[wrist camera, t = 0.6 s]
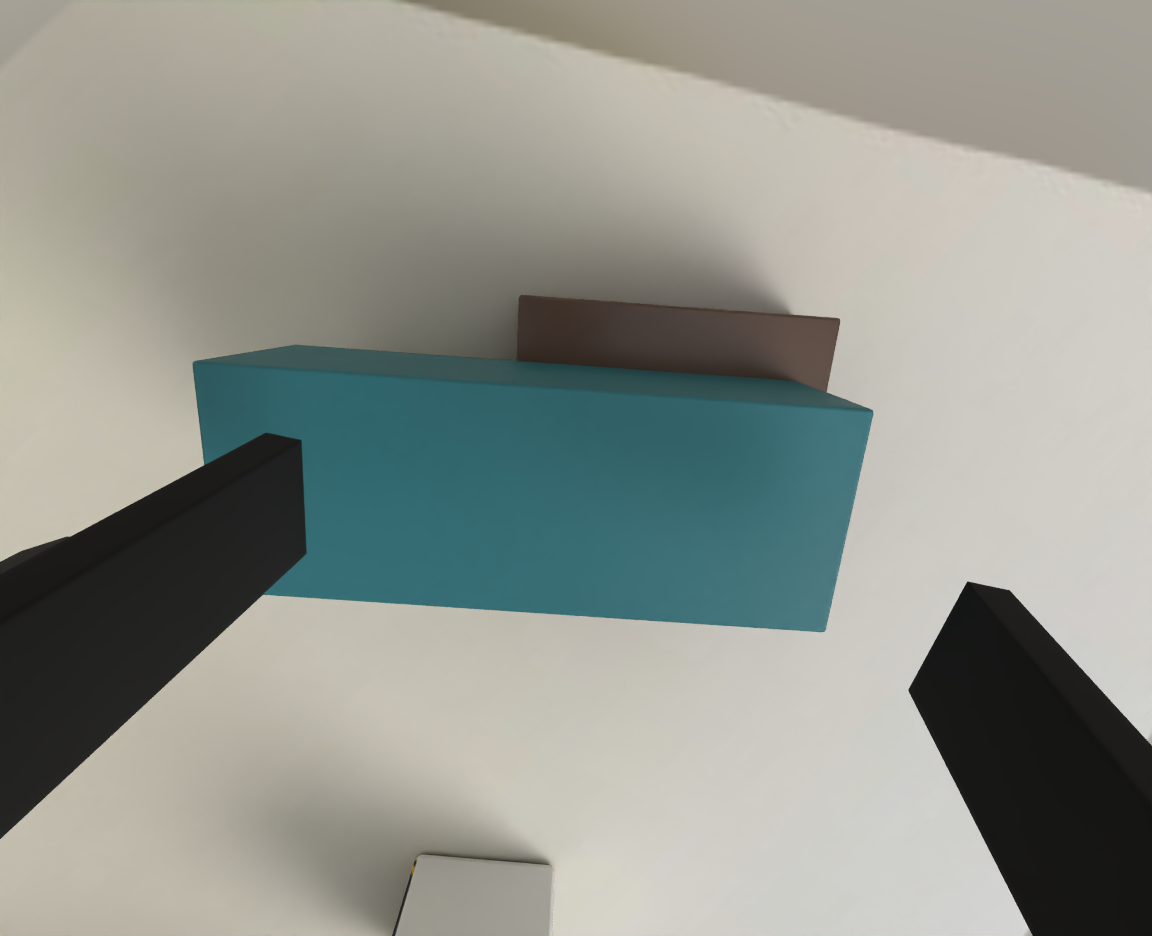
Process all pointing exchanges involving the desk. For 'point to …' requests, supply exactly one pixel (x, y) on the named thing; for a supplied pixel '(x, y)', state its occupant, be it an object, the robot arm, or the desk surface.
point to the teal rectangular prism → (552, 483)
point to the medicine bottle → (477, 898)
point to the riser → (676, 339)
